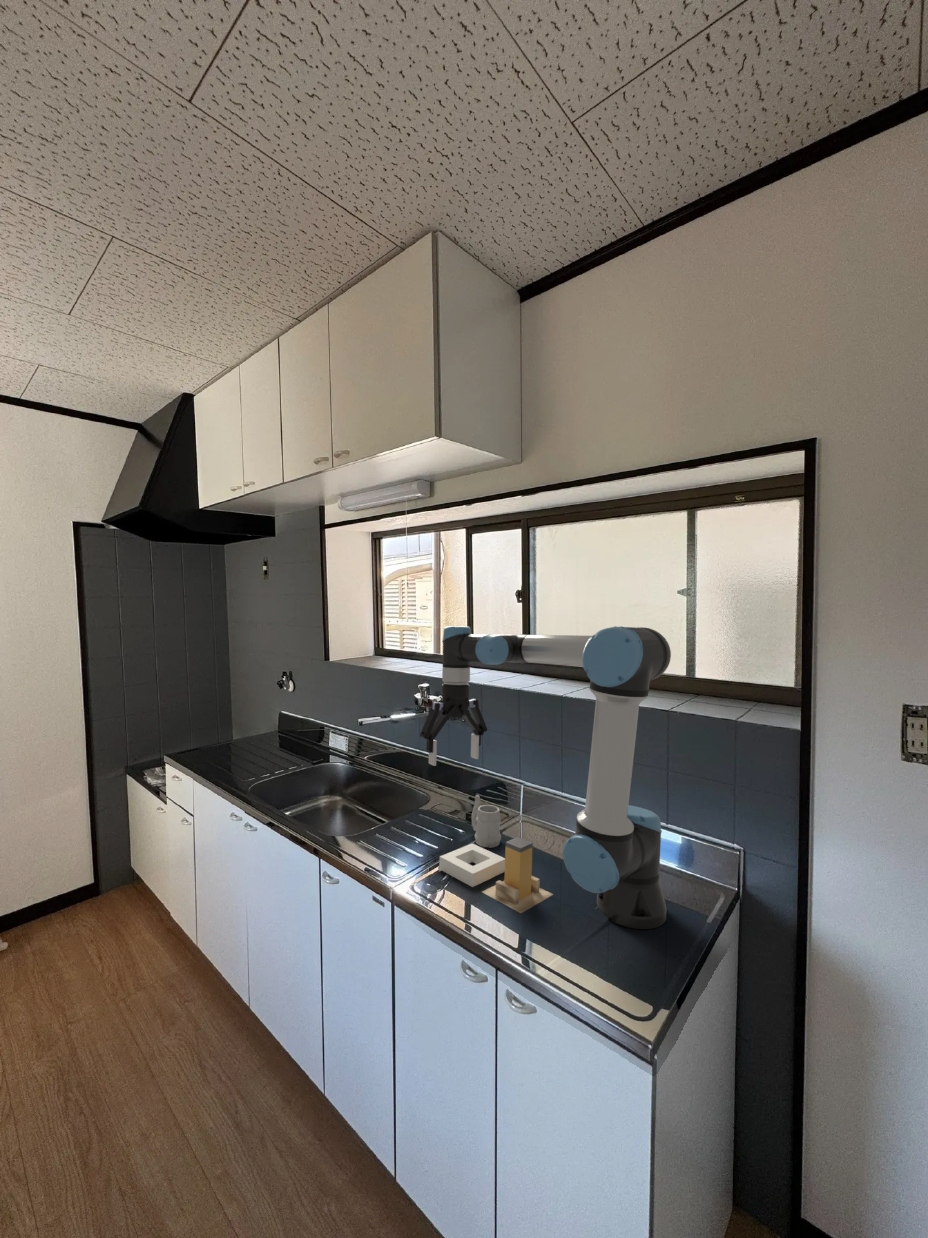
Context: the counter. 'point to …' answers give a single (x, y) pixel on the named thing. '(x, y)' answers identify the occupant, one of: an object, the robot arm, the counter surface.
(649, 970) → the counter surface
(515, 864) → the plug
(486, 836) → the mug
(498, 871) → the port
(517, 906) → the beige plate with rail
